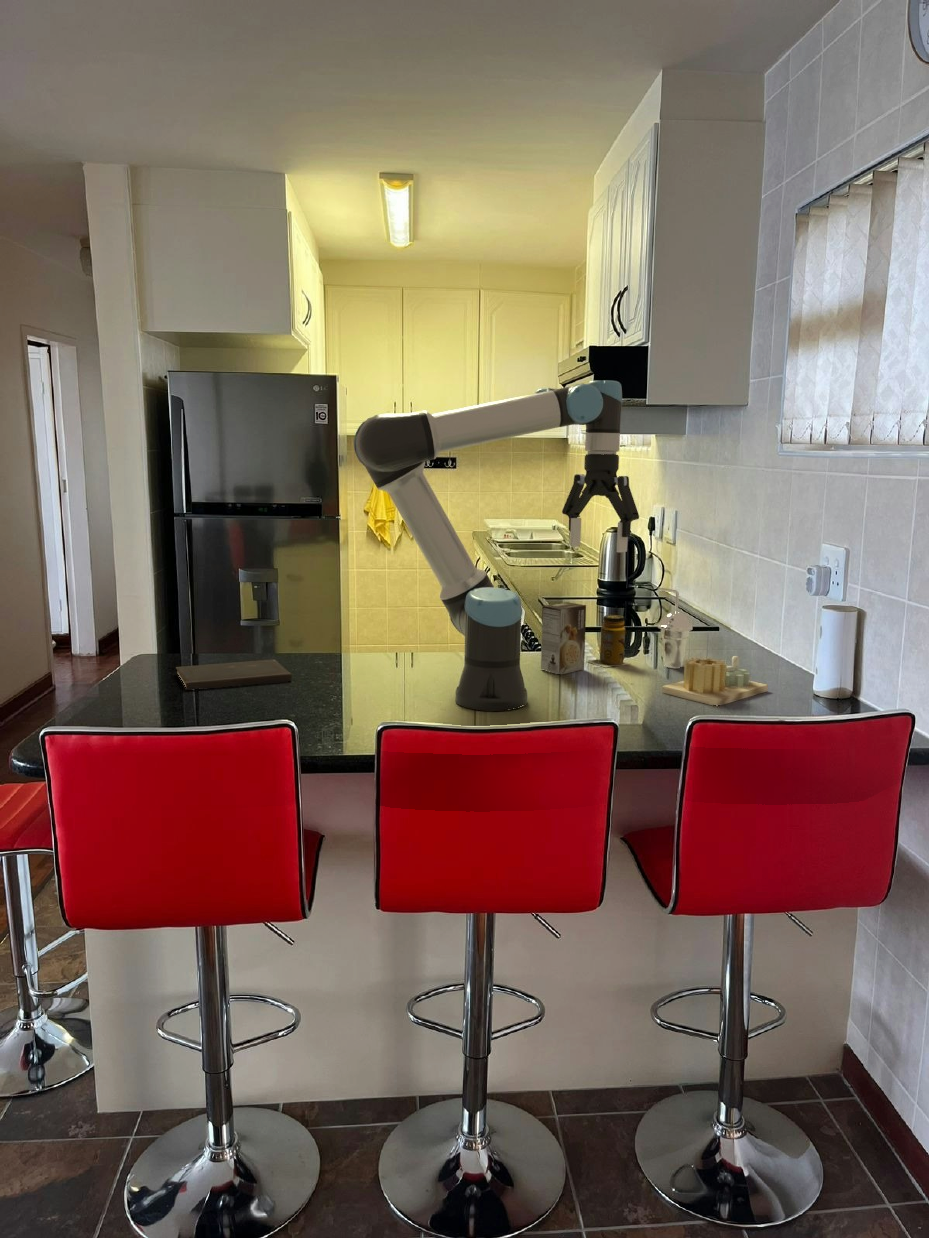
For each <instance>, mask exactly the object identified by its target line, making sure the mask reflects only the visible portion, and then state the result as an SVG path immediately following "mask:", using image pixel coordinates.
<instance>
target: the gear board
mask: <svg viewBox="0 0 929 1238" xmlns="http://www.w3.org/2000/svg"><path fill="white" fill-rule="evenodd" d="M683 683H684V680H682V681H677V682H673V683H669V684H666V685H662V689H661V692H662V694H665V695H670V696H674V697H678V698H682V699H685V700H689V701H693V702H698V703H702V704H706V705H708V706H709V705H710V706H713V705H716V706H715V707H719V706H718V705H720V706H724V705H726V704H730V703H733V702H735V701H736V702H737V701H740V700H743V699H746V698H751V697H753V696H755V695H759V694H762V693H766V692H768V689H769V688H768V686H769V684H765V683H760V682H756V681H752V680H749V684H748V685H744V684H743V687H737V686H728V687H727V686H725V691H724V692H719V694H712V693H703V694H701V693H697V692H696V691H688V690H685V687H683Z"/></svg>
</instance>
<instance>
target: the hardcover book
mask: <svg viewBox="0 0 929 1238" xmlns="http://www.w3.org/2000/svg"><path fill="white" fill-rule="evenodd" d="M175 669H176V670H177V672H176V673H177V674H178V675H179V676H178V675H177V676H178V678H179V677H180V678H181V679H180V678H179V679H180V681H181V680H182V681H183V683H184V684H183V683H182V684H183V686H184V685H185V686H184V688H185V687H186V688H185V690H191V689H199V688H216V689H223V688H222V687H227V688H229V687H228V686H238V687H240V686H239V685H248V686H252V685H251V684H259V685H268V684H278V683H279V684H281V683H289V682H288V681H291V682H292V674H291V673H290V672H289V671H288V669H286V668H285V667H284V666H283V665H282V664H281V663H279V661H278V660H276V659H275V658H274V659H272V658H271V659H263V660H262V659H261V660H259V659H258V660H250V661H249V660H248V661H238V662H226V663H224V662H222V663H213V664H212V663H211V664H210V663H209V664H200V665H186V666H176V667H175ZM182 681H181V682H182Z"/></svg>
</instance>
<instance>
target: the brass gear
mask: <svg viewBox="0 0 929 1238" xmlns="http://www.w3.org/2000/svg"><path fill="white" fill-rule="evenodd" d="M727 666H728V664H727V663H726V661H724V660H721V659H720V660H719V659H718V660H717V659H714V658H711V657H706V658H699V657H691V659H689V658H685V660H684V669H683V670H684V671H683V681H684V683H683V687H685V690H688V691H696V692H697V693H701V694H703V693H712V694H719V692H724V691H725V686H726V672H727Z"/></svg>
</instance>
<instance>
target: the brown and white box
mask: <svg viewBox="0 0 929 1238" xmlns="http://www.w3.org/2000/svg"><path fill="white" fill-rule="evenodd" d="M541 609H542V611H541V612H542V613H541V615H542V616H541V619H542V620H541V647H540V648H541V649H540V651H541V654H540V656H541V657H540V670H541V669H544V670H547V671H550V672H553V673H555V674H554V675H557V674H561V675H565V674H569V673H574V672H578V671H583V670H585V657H586V656H585V654H586V653H585V650H586V627H587V626H586V619H587V605H586V604H579V603H575V602H566V601H565V602H560V603H559V602H558V603H552V604H546V605H542V607H541ZM550 672H549V673H550ZM553 673H552V674H553Z"/></svg>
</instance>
